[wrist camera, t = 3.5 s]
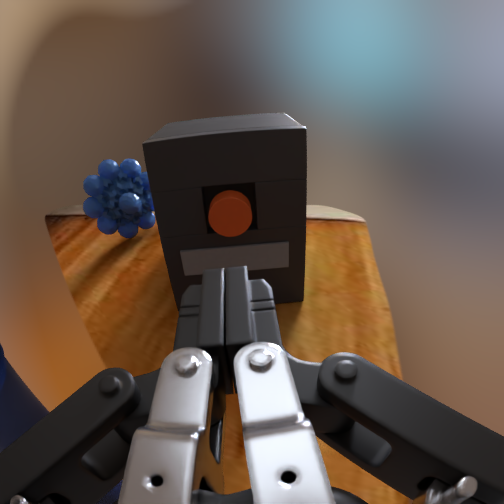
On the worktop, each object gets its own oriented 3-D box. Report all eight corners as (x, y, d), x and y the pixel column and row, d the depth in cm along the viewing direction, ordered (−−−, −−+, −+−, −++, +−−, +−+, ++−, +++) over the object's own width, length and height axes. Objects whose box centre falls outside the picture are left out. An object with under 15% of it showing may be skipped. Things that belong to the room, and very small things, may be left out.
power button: (211, 239, 24) (205, 199, 22) (212, 229, 25) (207, 191, 24) (253, 235, 24) (251, 195, 22) (252, 225, 25) (249, 188, 24)
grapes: (105, 264, 38) (79, 176, 31) (92, 246, 42) (70, 168, 36) (180, 231, 44) (166, 148, 38) (159, 218, 48) (146, 144, 42)
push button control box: (177, 313, 29) (141, 144, 21) (188, 255, 38) (167, 123, 30) (304, 303, 30) (307, 128, 21) (287, 246, 39) (284, 112, 30)
